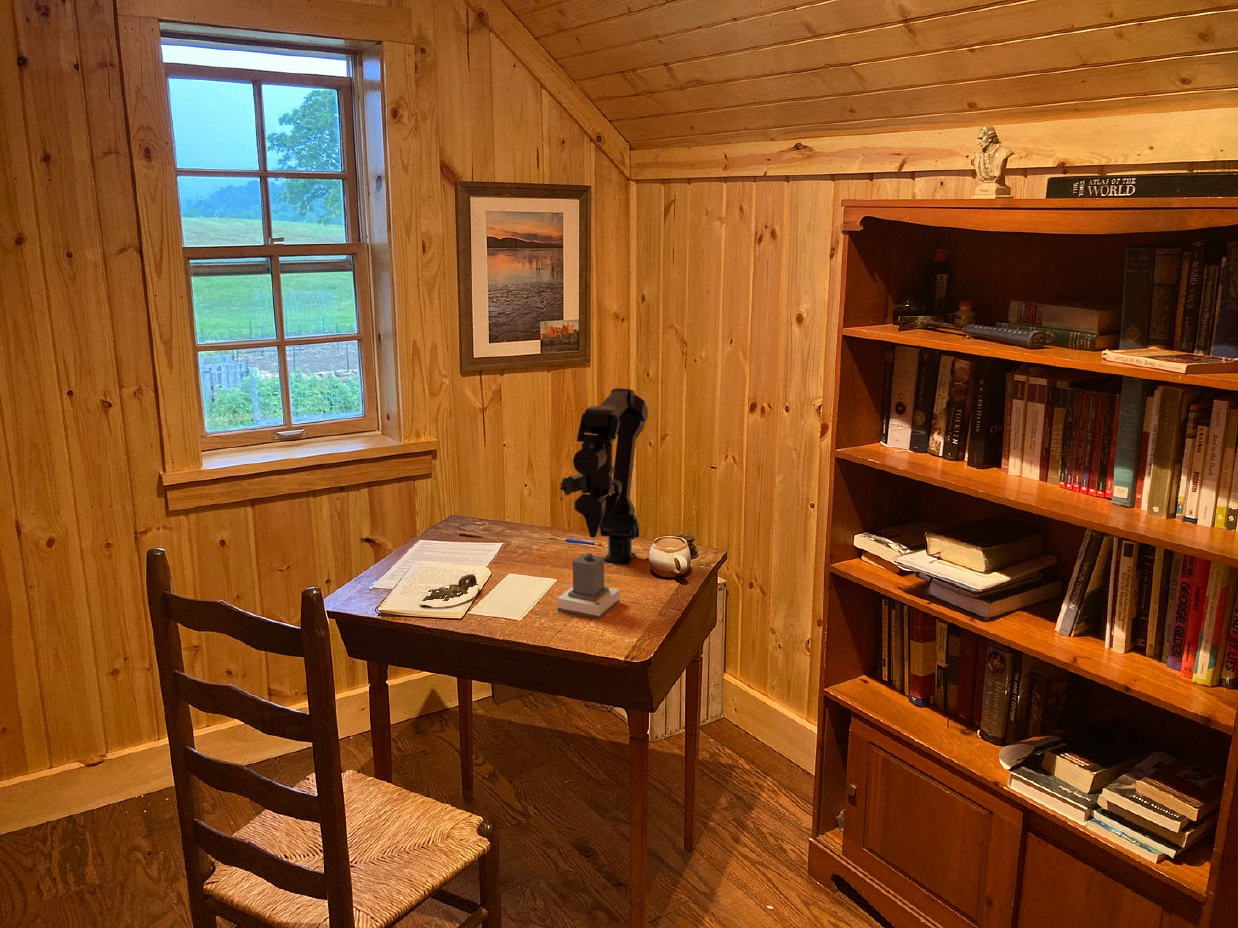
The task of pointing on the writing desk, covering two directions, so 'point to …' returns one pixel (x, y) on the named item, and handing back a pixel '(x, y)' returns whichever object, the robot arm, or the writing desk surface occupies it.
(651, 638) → the writing desk surface
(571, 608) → the socket
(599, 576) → the grey block with knob
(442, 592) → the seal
